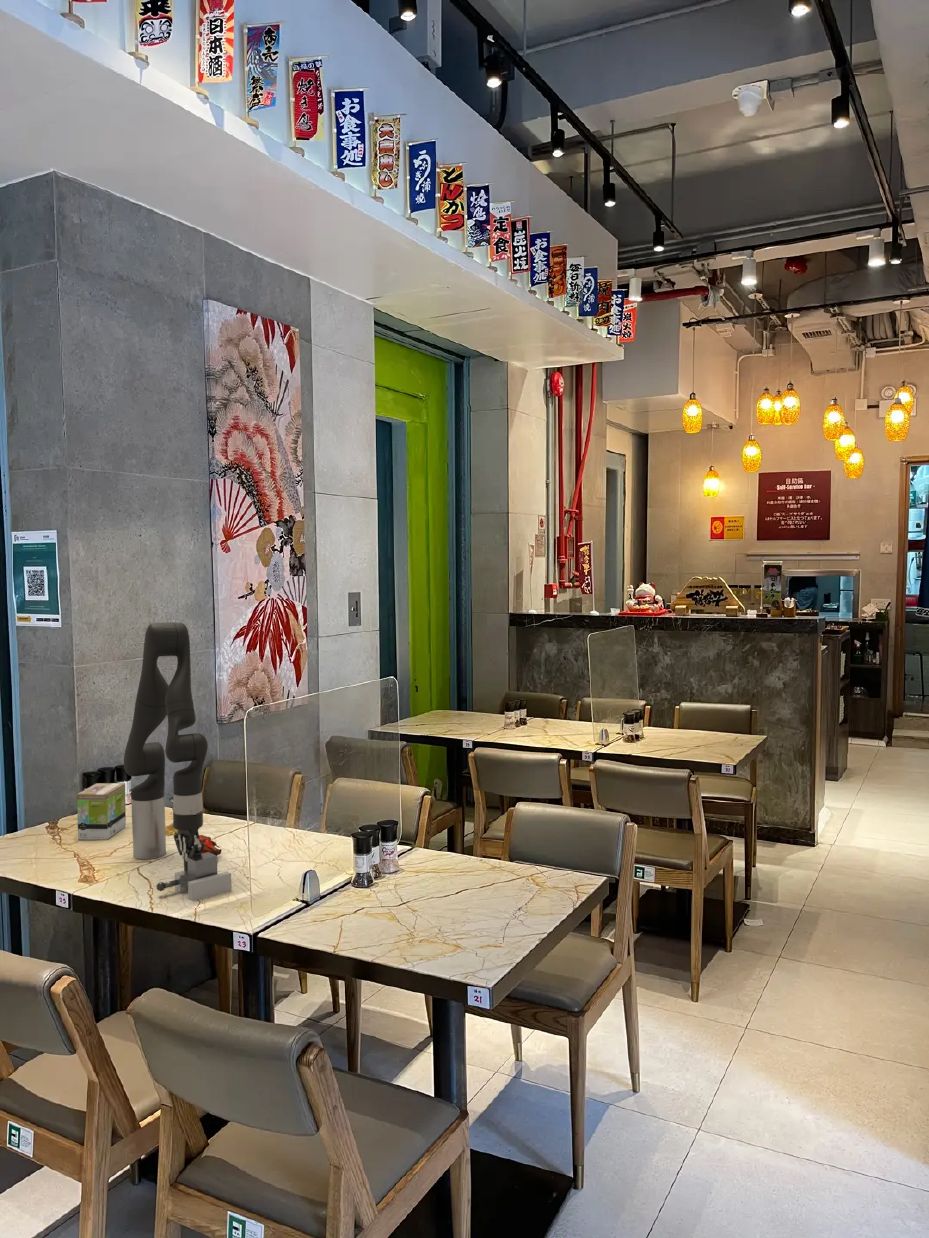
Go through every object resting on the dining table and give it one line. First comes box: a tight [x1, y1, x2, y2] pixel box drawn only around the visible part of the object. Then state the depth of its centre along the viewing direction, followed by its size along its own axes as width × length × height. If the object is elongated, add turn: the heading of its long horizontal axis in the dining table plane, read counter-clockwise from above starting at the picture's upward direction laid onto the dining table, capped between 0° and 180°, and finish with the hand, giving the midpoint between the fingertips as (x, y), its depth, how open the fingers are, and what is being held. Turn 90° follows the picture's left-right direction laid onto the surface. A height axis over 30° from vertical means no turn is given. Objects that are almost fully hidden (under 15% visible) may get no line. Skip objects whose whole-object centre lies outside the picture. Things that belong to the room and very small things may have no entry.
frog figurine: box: [165, 796, 178, 837], centre depth 303 cm, size 10×18×15 cm, turn 154°
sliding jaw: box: [156, 870, 188, 894], centre depth 244 cm, size 3×16×4 cm, turn 133°
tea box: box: [76, 782, 127, 841], centre depth 300 cm, size 15×10×15 cm
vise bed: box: [187, 871, 232, 902], centre depth 248 cm, size 22×11×6 cm, turn 43°
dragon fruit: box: [199, 834, 223, 857], centre depth 270 cm, size 8×8×12 cm
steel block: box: [187, 852, 219, 882], centre depth 243 cm, size 4×6×9 cm
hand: (189, 873), depth 248 cm, fingers closed
